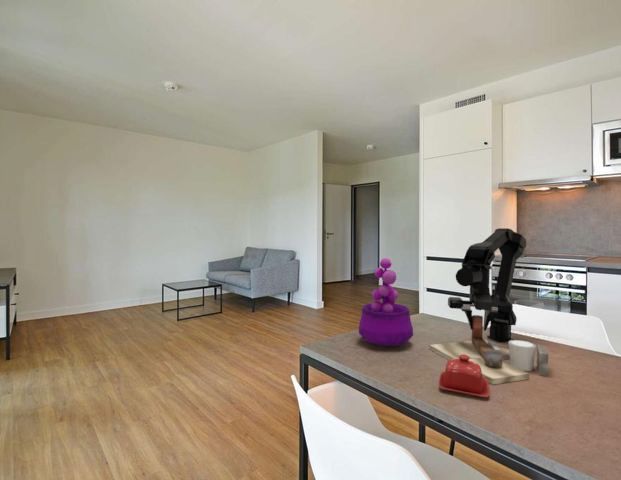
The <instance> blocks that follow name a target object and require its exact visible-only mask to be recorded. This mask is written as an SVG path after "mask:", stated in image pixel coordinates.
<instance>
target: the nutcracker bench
mask: <svg viewBox="0 0 621 480" xmlns="http://www.w3.org/2000/svg"><path fill="white" fill-rule="evenodd" d="M483 339H484V338H483ZM484 340H485V342H486V343H487V344H488V341H489V340H488V339H486V338H485V339H484ZM493 343H494V344H495V345H496V346H497V347H498V348H499V349H500V353H501V354H502V367H492V366H489V365H487V364H485V359H484V358H483V357H482V355H481V354H480V353H479V351H478V350H477V349H476V347H475V346H474V345H473V343H472V342H471V340H465V341H464V340H463V341H453V342H443V343H435V344H429V348H428V349H429V350H430V351H432V352H433V353H436V354H437V355H438V356H440V357H442V358H444V359H446V360H447V361H449V360H450V359H459V355H462V354H463V355H467V356H469V357H470V359H469V361H472V362H475V363H477V364H478V365H479V366H480V367H481V371H482V378H484V379H486V380H487V381H488V384H490V385H491V386H493V385H499V384H506V383H513V382H518V381H519V382H520V381H525V380H530V373H529V372H528V371H522V370H520V369H518V368H516V367H514V366H512V365H510V363H507V362H505V361H503V360H510V355H509V348H507V347H504V346H502V345H501V344H497V343H495V342H493ZM536 346H537V347H536V367H537V372H538V376H544V377H548V376H549V352H548V350H547V346H546V345H542V344H541V345H540V344H536Z"/></svg>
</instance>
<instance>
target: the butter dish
mask: <svg viewBox="0 0 621 480" xmlns="http://www.w3.org/2000/svg"><path fill="white" fill-rule="evenodd" d="M469 359H470V357H469V356H467V355H463V354H462V355H459V359H450V360H447V362H446V364H445V365H446V366H445V369H444V370H445V371H441V373H440V375H439V380H438V387H439V389H442V390H445V391H448V392H454V393H459V394H464V395H469V396H475V397H480V398H488V397H490V387H489V383H488V381H487V380H486V379H484V378H482V371H481V367H480V366H479V365H478V364H477V363H475V362H472V361H469Z"/></svg>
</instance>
